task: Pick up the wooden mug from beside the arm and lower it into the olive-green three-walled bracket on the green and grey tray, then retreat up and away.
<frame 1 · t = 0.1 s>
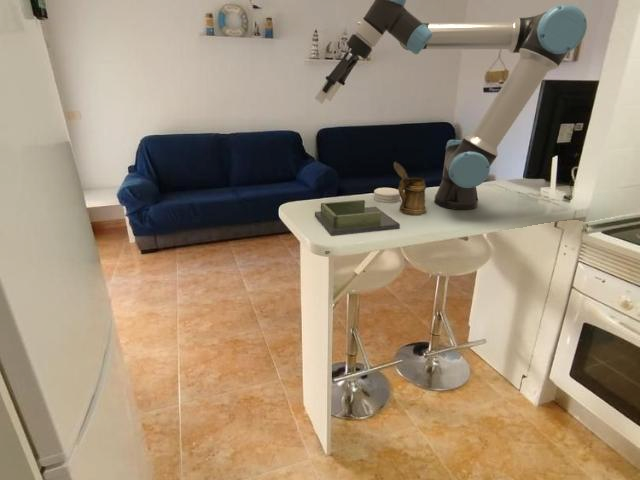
hand: (322, 99, 128), 36 cm above the counter, tool tilted 35°, fingers open, 13 cm apart
green and grey tray: (355, 222, 126), on the counter
wooden mug: (406, 212, 136), on the counter
coaster: (386, 200, 150), on the counter
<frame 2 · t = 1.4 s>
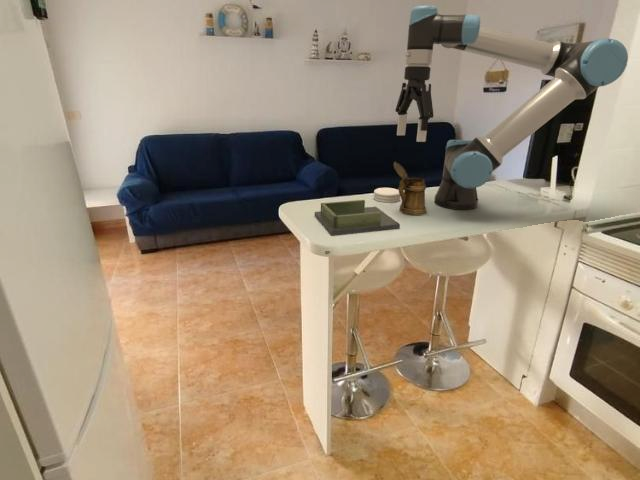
hand: (410, 138, 126), 25 cm above the counter, tool pointing down, fingers open, 13 cm apart
nothing on the counter moved.
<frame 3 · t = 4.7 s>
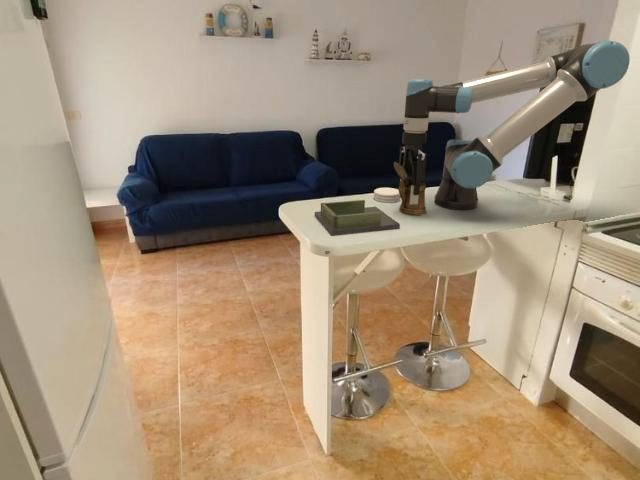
hand: (408, 200, 134), 4 cm above the counter, tool pointing down, fingers closed on wooden mug, 7 cm apart
wooden mug: (406, 212, 136), on the counter, touching gripper
everything else where it was.
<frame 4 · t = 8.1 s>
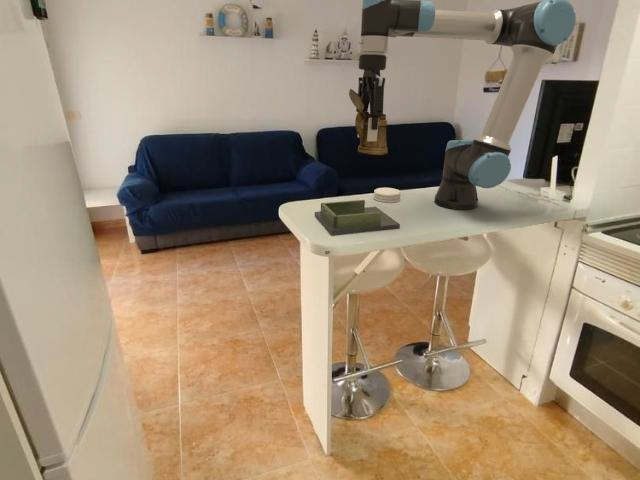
hand: (366, 139, 117), 26 cm above the counter, tool pointing down, fingers closed on wooden mug, 7 cm apart
wooden mug: (365, 153, 119), point 22 cm above the counter, touching gripper
everything else where it was.
when the fingers open (7 cm above the counter, at t = 11.5 s): wooden mug drops 1 cm, resting on green and grey tray.
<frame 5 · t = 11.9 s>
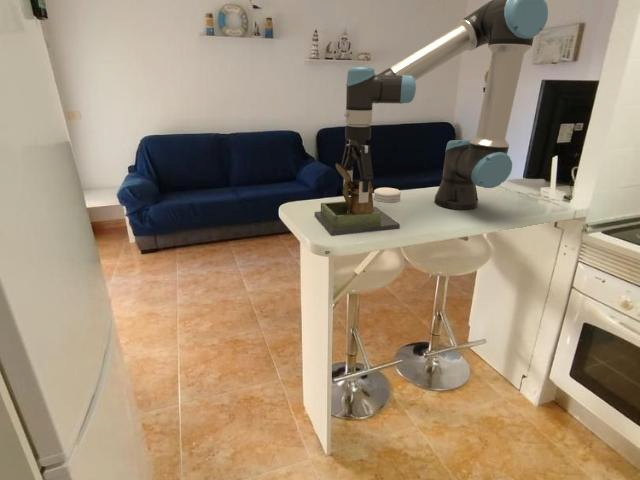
hand: (355, 196, 122), 9 cm above the counter, tool pointing down, fingers open, 13 cm apart
wooden mug: (354, 218, 125), point 1 cm above the counter, touching green and grey tray
everything else where it was.
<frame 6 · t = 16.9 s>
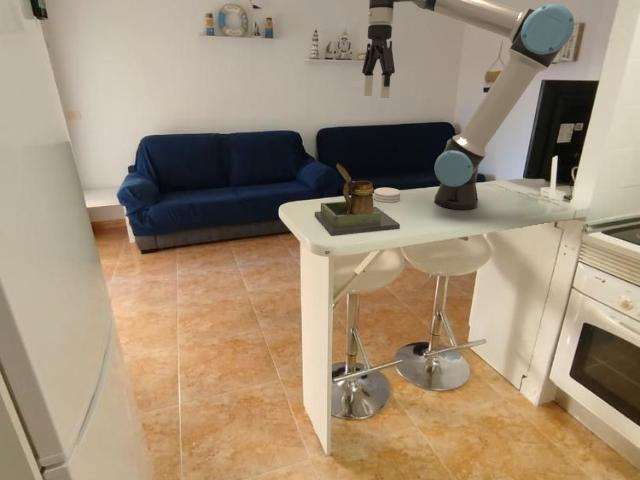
hand: (375, 96, 132), 37 cm above the counter, tool pointing down, fingers open, 13 cm apart
nothing on the counter moved.
at the end: wooden mug 0.1 cm off-centre on the green and grey tray, point 1.3 cm above the green and grey tray's base; wooden mug tilted 0°; the gripper is holding nothing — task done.
